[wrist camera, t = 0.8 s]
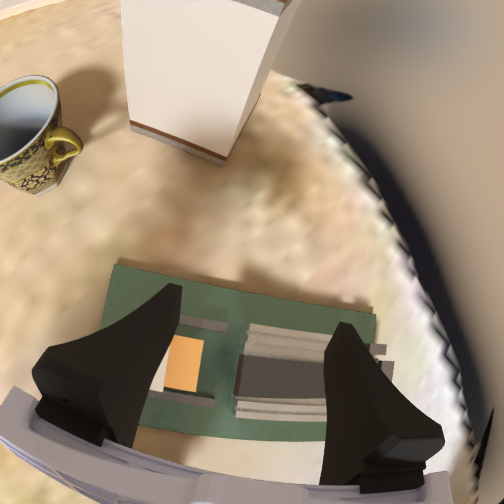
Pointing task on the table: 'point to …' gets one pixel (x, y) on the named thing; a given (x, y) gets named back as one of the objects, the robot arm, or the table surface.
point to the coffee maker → (199, 68)
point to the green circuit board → (227, 354)
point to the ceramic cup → (33, 135)
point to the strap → (279, 378)
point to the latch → (179, 365)
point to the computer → (21, 6)
